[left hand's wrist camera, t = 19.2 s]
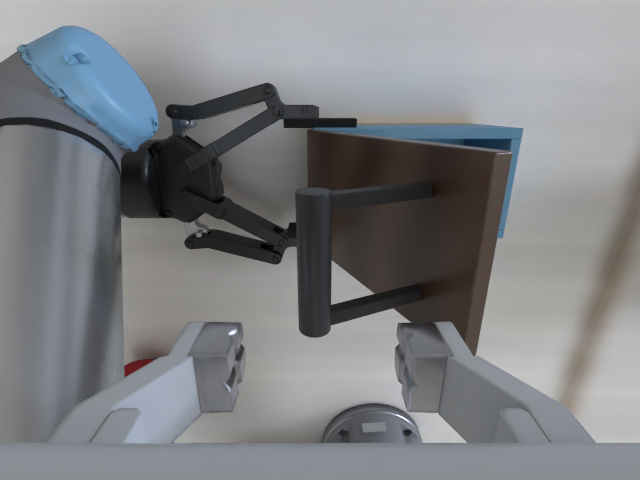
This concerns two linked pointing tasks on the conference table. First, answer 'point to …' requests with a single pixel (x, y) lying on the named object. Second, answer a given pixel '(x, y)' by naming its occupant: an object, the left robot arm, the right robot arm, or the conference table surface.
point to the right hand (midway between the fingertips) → (353, 179)
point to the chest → (454, 142)
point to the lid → (398, 229)
